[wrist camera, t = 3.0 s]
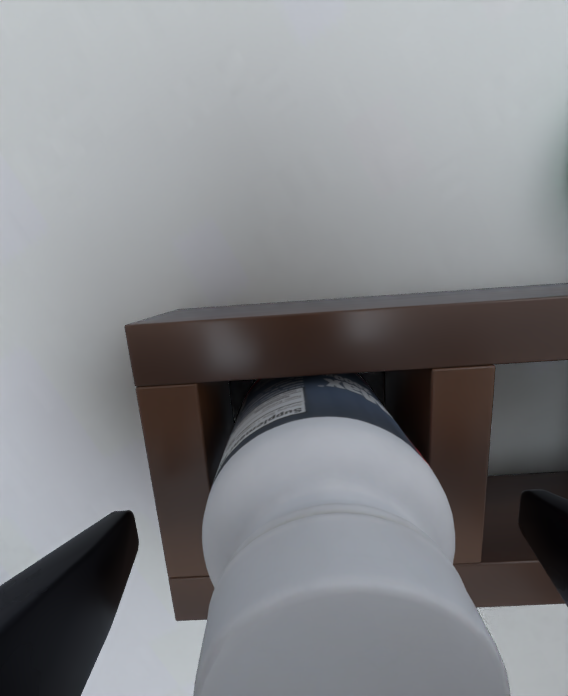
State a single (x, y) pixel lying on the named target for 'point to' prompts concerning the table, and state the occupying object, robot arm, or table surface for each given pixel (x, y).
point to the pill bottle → (334, 557)
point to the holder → (400, 401)
